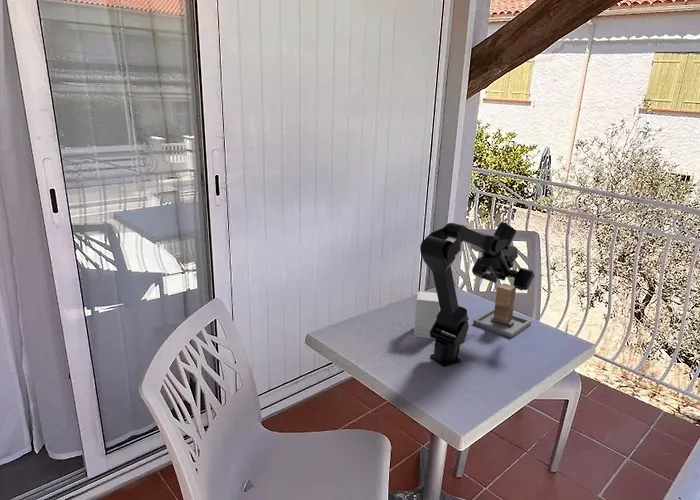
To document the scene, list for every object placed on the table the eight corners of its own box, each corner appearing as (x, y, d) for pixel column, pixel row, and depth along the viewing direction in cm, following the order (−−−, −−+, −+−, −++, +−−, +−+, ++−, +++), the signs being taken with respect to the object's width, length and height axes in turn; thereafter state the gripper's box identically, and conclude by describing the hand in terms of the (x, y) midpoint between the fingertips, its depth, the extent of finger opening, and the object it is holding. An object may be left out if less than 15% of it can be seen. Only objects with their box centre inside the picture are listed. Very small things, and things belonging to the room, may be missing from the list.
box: (511, 338, 153) (511, 333, 152) (473, 323, 162) (473, 319, 161) (530, 324, 162) (531, 320, 162) (493, 312, 171) (494, 308, 171)
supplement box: (437, 339, 151) (440, 302, 147) (413, 336, 152) (415, 299, 149) (437, 328, 158) (440, 292, 154) (415, 326, 159) (417, 290, 156)
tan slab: (508, 328, 158) (513, 291, 154) (489, 321, 163) (493, 285, 159) (515, 324, 161) (520, 287, 157) (495, 317, 166) (500, 282, 162)
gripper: (536, 246, 144) (546, 272, 155) (480, 233, 156) (493, 258, 167) (520, 277, 141) (532, 302, 152) (464, 261, 153) (479, 285, 164)
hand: (508, 285), depth 159 cm, fingers open, 9 cm apart
